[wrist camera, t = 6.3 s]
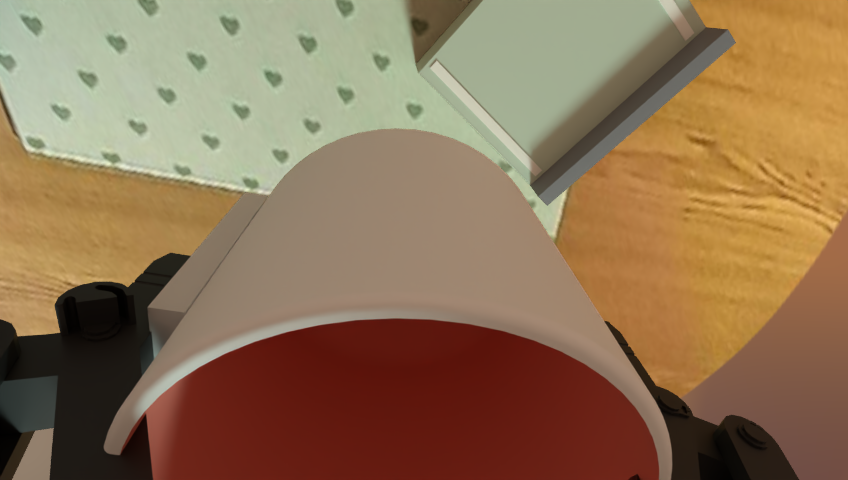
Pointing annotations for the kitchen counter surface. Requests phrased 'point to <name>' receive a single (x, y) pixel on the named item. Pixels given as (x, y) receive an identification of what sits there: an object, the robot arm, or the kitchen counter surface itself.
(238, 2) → the kitchen counter surface
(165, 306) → the robot arm
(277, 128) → the kitchen counter surface
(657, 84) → the dock
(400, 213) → the cup
